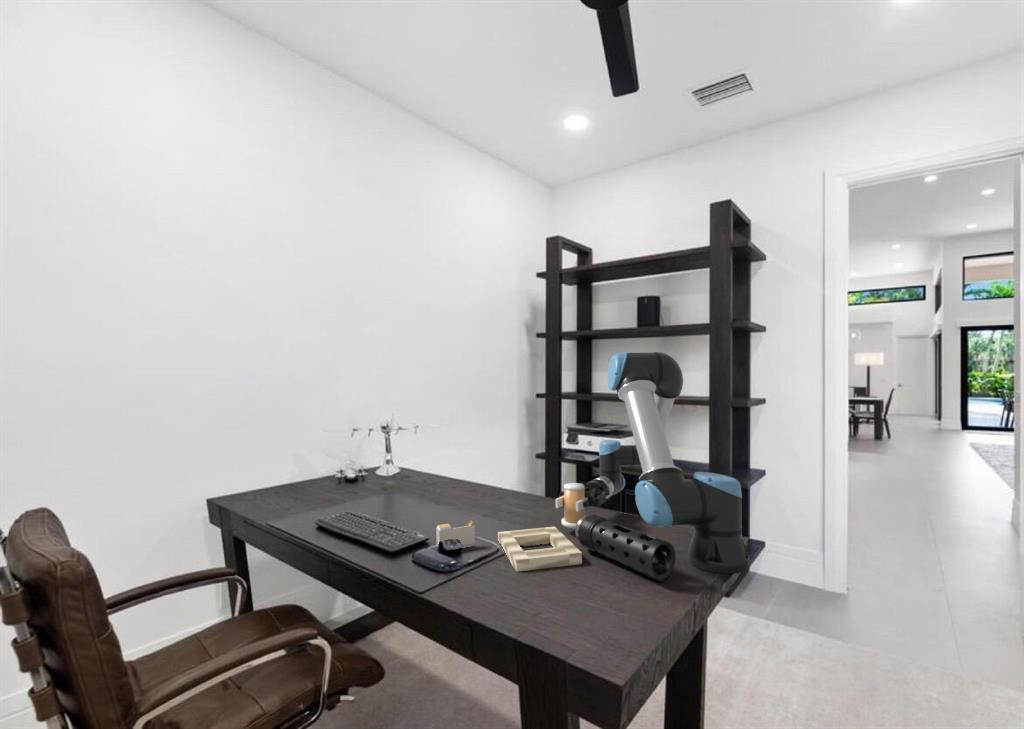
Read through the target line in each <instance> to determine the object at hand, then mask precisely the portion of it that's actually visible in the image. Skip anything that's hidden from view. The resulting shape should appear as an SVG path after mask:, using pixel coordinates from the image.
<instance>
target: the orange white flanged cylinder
mask: <svg viewBox="0 0 1024 729" xmlns="http://www.w3.org/2000/svg"><path fill="white" fill-rule="evenodd" d="M584 487H585V484H583V483H579V482H568V483H565V484H563V492H564V505H563V506H564V508H563V509H564V510H563V511H564V513H563V514H564V517H562V518H561V526H562V527H565V528H568V529H576V525H577V523H578V521H579V520H580V519H581V518H582V517H583V516H585V515H586V508H584V509H582V510H580V511H578V512H577V511H576V502H577V501H580V500H582V499H584V498H585V489H584Z"/></svg>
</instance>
